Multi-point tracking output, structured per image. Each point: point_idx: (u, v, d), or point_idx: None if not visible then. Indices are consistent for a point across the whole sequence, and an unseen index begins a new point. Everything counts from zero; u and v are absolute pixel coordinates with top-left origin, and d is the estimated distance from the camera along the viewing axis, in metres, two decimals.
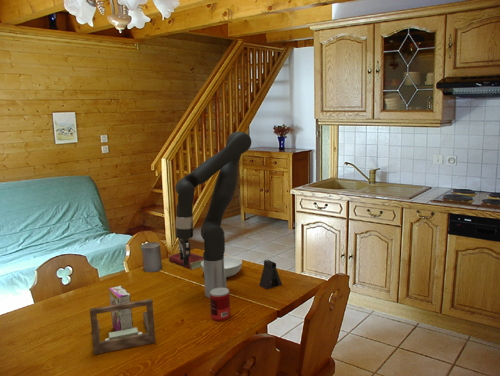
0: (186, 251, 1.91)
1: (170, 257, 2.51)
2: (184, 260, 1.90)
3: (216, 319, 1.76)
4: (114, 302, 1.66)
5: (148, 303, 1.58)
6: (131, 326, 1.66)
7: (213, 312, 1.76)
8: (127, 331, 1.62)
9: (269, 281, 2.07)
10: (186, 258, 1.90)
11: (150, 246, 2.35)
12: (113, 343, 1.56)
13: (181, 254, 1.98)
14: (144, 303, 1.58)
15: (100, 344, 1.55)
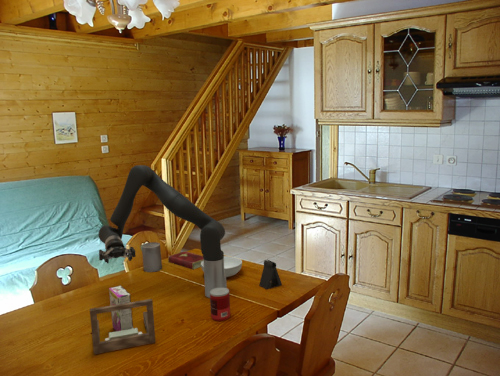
0: None
1: (170, 257, 2.50)
2: None
3: (216, 319, 1.76)
4: (114, 302, 1.66)
5: (148, 303, 1.58)
6: (131, 326, 1.66)
7: (213, 312, 1.76)
8: (127, 331, 1.62)
9: (269, 281, 2.07)
10: (104, 258, 1.78)
11: (150, 246, 2.35)
12: (113, 343, 1.56)
13: (128, 257, 1.81)
14: (144, 303, 1.58)
15: (100, 344, 1.55)
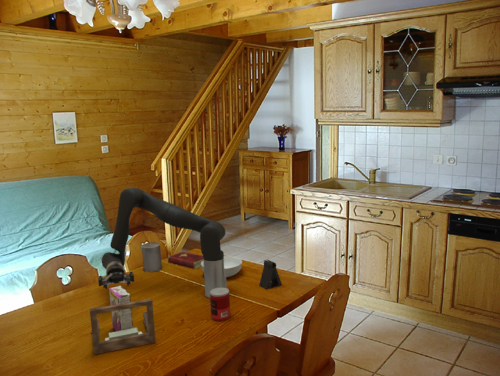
0: (106, 280, 1.84)
1: (169, 258, 2.49)
2: None
3: (216, 319, 1.76)
4: (114, 302, 1.66)
5: (148, 303, 1.58)
6: (131, 326, 1.66)
7: (213, 312, 1.76)
8: (127, 331, 1.62)
9: (269, 281, 2.07)
10: (103, 284, 1.81)
11: (150, 246, 2.35)
12: (113, 343, 1.56)
13: None
14: (144, 303, 1.58)
15: (100, 344, 1.55)
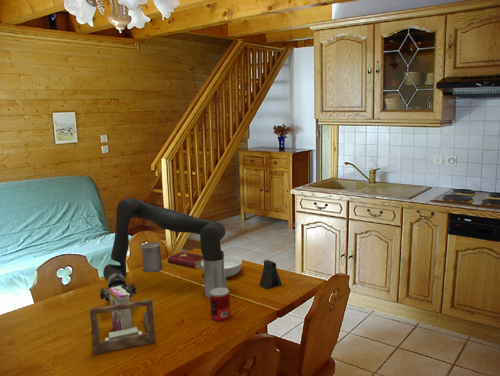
0: (108, 293, 1.84)
1: (169, 258, 2.49)
2: None
3: (216, 319, 1.76)
4: (114, 302, 1.66)
5: (148, 303, 1.58)
6: (131, 326, 1.66)
7: (213, 312, 1.76)
8: (127, 331, 1.62)
9: (269, 281, 2.07)
10: (104, 297, 1.82)
11: (150, 246, 2.35)
12: (113, 343, 1.56)
13: None
14: (144, 303, 1.58)
15: (100, 344, 1.55)
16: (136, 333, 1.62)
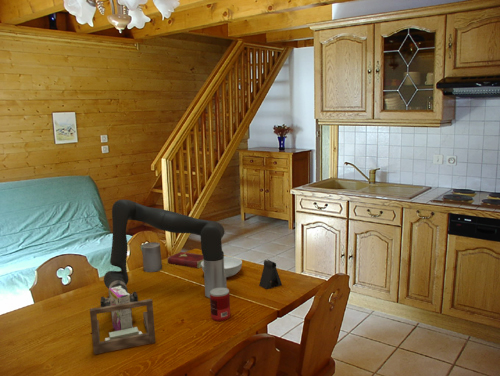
0: (109, 302, 1.75)
1: (169, 259, 2.48)
2: None
3: (216, 319, 1.76)
4: (114, 302, 1.66)
5: (148, 303, 1.58)
6: (131, 326, 1.66)
7: (213, 312, 1.76)
8: (128, 330, 1.63)
9: (269, 281, 2.07)
10: (105, 306, 1.73)
11: (150, 246, 2.35)
12: (113, 343, 1.56)
13: None
14: (144, 303, 1.58)
15: (100, 344, 1.55)
16: (136, 333, 1.62)
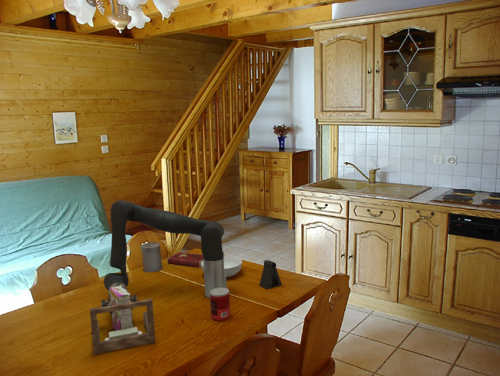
0: None
1: (169, 259, 2.47)
2: None
3: (216, 319, 1.76)
4: (114, 302, 1.66)
5: (148, 303, 1.58)
6: (131, 326, 1.66)
7: (213, 312, 1.76)
8: (127, 330, 1.63)
9: (269, 281, 2.07)
10: None
11: (150, 246, 2.35)
12: (113, 343, 1.56)
13: None
14: (144, 303, 1.58)
15: (100, 344, 1.55)
16: (136, 333, 1.62)
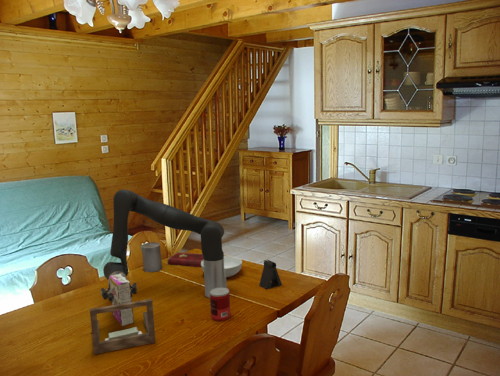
0: None
1: (169, 260, 2.46)
2: None
3: (216, 319, 1.76)
4: (114, 290, 1.65)
5: (148, 303, 1.58)
6: (131, 314, 1.65)
7: (213, 312, 1.76)
8: (127, 331, 1.62)
9: (269, 281, 2.07)
10: (108, 296, 1.69)
11: (150, 246, 2.35)
12: (113, 343, 1.56)
13: None
14: (144, 303, 1.58)
15: (100, 344, 1.55)
16: (136, 333, 1.61)
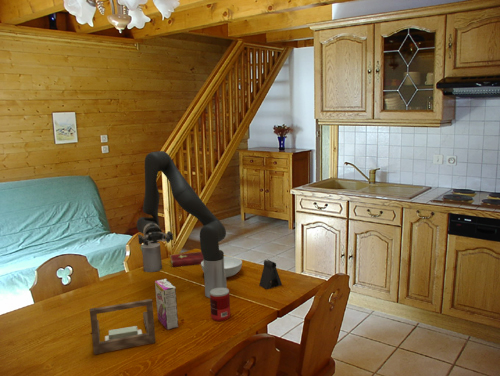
0: None
1: (174, 262, 2.42)
2: None
3: (216, 319, 1.76)
4: (160, 294, 1.72)
5: (148, 303, 1.58)
6: (176, 318, 1.72)
7: (213, 312, 1.76)
8: (127, 329, 1.64)
9: (269, 281, 2.07)
10: (143, 241, 1.84)
11: (150, 246, 2.35)
12: (113, 343, 1.56)
13: (166, 240, 1.87)
14: (144, 303, 1.58)
15: (100, 344, 1.55)
16: (135, 332, 1.62)
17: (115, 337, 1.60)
